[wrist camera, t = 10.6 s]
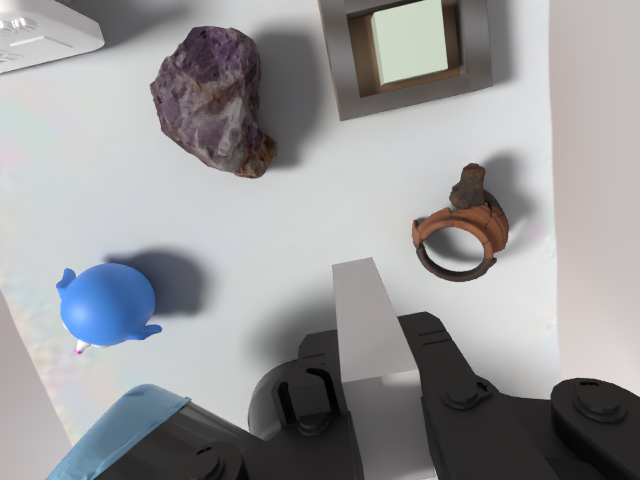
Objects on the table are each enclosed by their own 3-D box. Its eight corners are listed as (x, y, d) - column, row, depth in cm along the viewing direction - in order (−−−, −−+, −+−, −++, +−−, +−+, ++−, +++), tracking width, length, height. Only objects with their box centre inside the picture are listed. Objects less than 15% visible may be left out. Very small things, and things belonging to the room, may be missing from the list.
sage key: (440, 72, 33) (447, 68, 31) (380, 86, 33) (384, 83, 31) (433, 4, 31) (440, -4, 30) (370, 20, 32) (373, 12, 30)
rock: (278, 59, 36) (175, 56, 36) (268, 15, 27) (130, 10, 27) (278, 179, 38) (179, 178, 38) (268, 175, 29) (138, 172, 29)
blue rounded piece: (55, 305, 43) (-7, 344, 35) (102, 230, 40) (47, 254, 32) (142, 358, 45) (102, 407, 37) (192, 290, 42) (162, 327, 34)
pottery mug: (504, 250, 41) (501, 296, 35) (421, 241, 45) (405, 281, 39) (518, 148, 35) (517, 182, 29) (420, 149, 39) (401, 179, 33)
